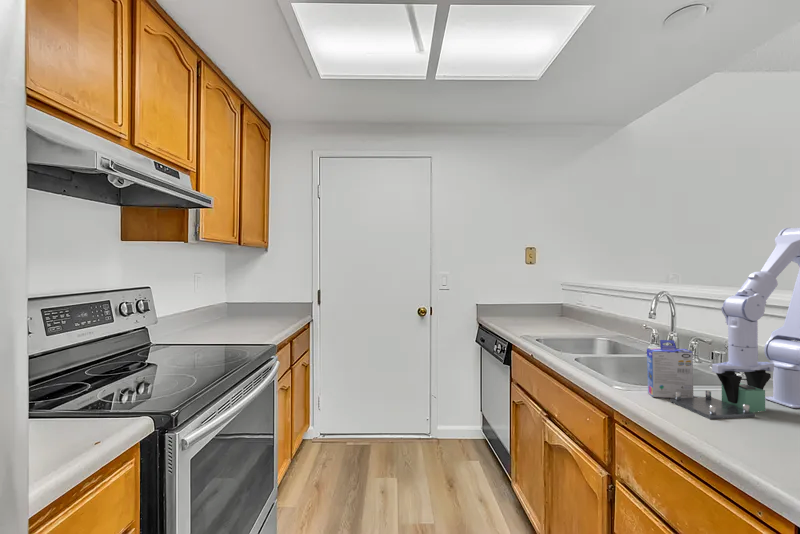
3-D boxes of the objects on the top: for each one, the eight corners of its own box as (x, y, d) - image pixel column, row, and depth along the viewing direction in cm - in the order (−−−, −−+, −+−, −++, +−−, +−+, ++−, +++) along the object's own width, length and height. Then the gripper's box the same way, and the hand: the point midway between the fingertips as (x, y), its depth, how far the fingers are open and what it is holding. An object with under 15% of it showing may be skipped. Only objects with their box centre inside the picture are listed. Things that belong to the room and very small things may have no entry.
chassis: (710, 399, 116) (710, 389, 116) (755, 417, 103) (755, 405, 103) (670, 401, 115) (670, 391, 115) (710, 419, 102) (710, 407, 102)
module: (740, 402, 114) (740, 381, 114) (765, 411, 107) (765, 388, 107) (721, 403, 113) (721, 381, 113) (745, 412, 106) (745, 389, 106)
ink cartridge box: (686, 393, 122) (685, 339, 122) (695, 399, 117) (694, 343, 117) (646, 392, 124) (645, 339, 124) (653, 397, 119) (652, 342, 119)
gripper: (728, 349, 105) (728, 408, 105) (785, 347, 107) (786, 405, 107) (705, 344, 112) (705, 399, 112) (759, 342, 114) (759, 396, 114)
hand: (743, 401), depth 110 cm, fingers closed on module, 5 cm apart
